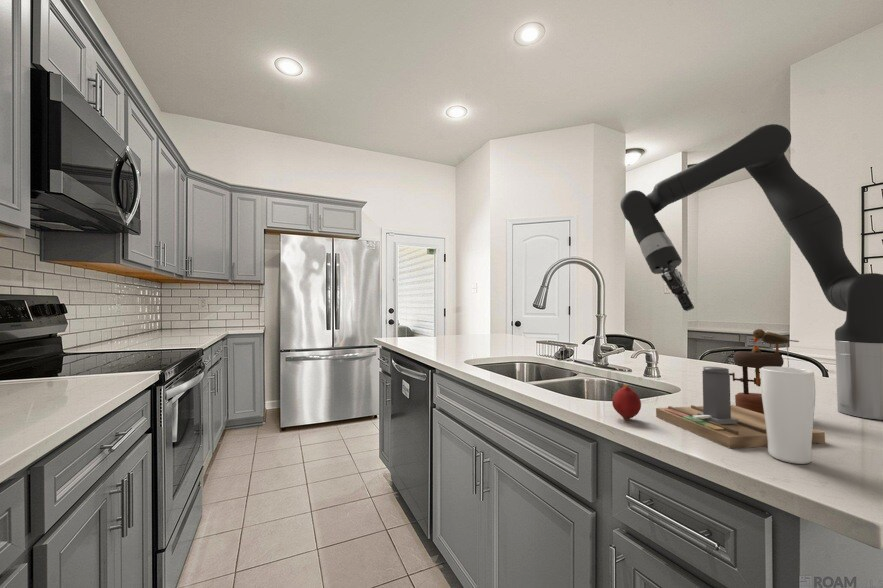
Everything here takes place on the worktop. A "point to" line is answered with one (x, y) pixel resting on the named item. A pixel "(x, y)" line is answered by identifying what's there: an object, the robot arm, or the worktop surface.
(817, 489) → the worktop surface
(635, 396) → the onion
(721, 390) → the peg slider
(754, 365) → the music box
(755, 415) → the board
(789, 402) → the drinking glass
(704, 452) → the worktop surface
